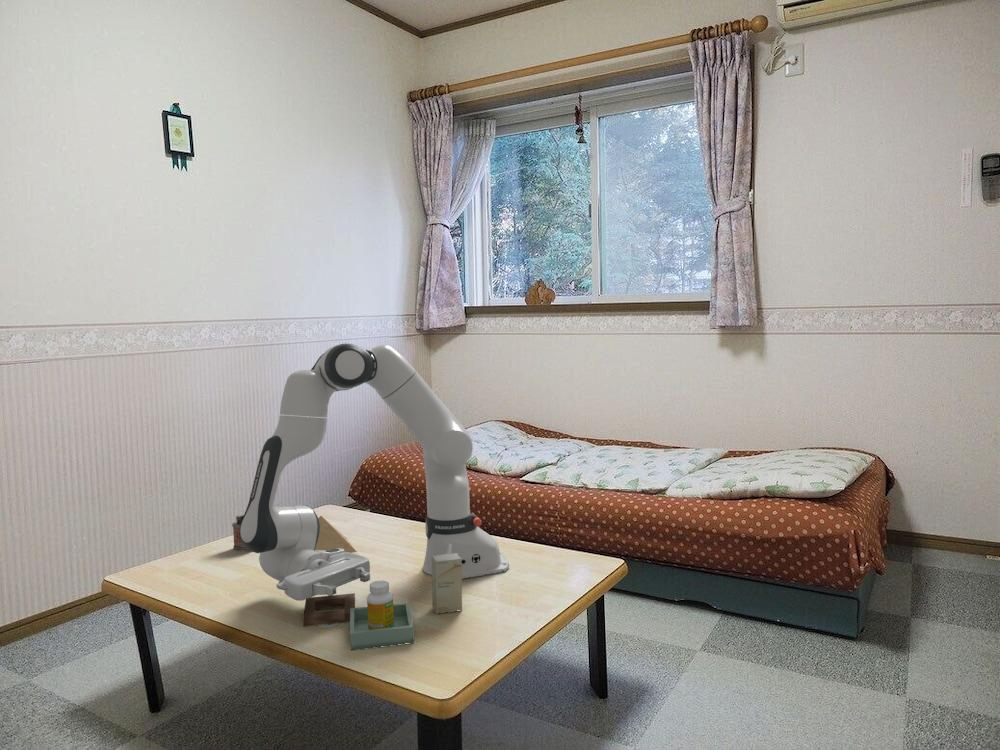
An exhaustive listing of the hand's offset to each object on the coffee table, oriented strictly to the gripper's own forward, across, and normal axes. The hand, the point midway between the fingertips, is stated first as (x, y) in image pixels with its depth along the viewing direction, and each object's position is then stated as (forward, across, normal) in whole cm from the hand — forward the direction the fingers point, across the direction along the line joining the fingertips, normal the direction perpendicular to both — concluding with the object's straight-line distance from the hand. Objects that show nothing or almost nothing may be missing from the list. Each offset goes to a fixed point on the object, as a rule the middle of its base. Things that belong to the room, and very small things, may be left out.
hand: (351, 584), depth 157 cm
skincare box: (+12, +17, +9) cm, 23 cm away
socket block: (-8, 0, +8) cm, 12 cm away
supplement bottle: (+9, 0, +8) cm, 12 cm away
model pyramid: (-46, +27, +9) cm, 55 cm away
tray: (+9, 0, +8) cm, 13 cm away
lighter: (-64, +14, +9) cm, 66 cm away
